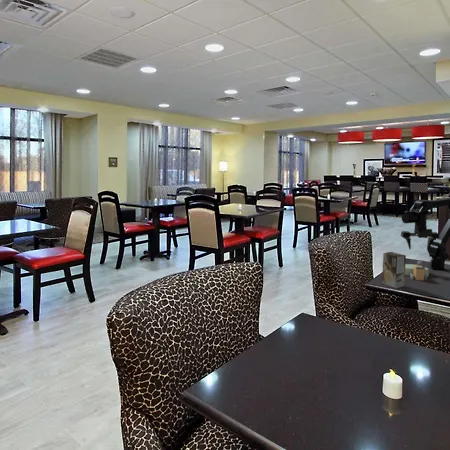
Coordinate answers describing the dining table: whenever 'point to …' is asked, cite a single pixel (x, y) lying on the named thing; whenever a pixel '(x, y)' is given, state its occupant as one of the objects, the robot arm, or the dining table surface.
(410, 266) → the mower deck
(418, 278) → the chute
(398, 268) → the coffee box
